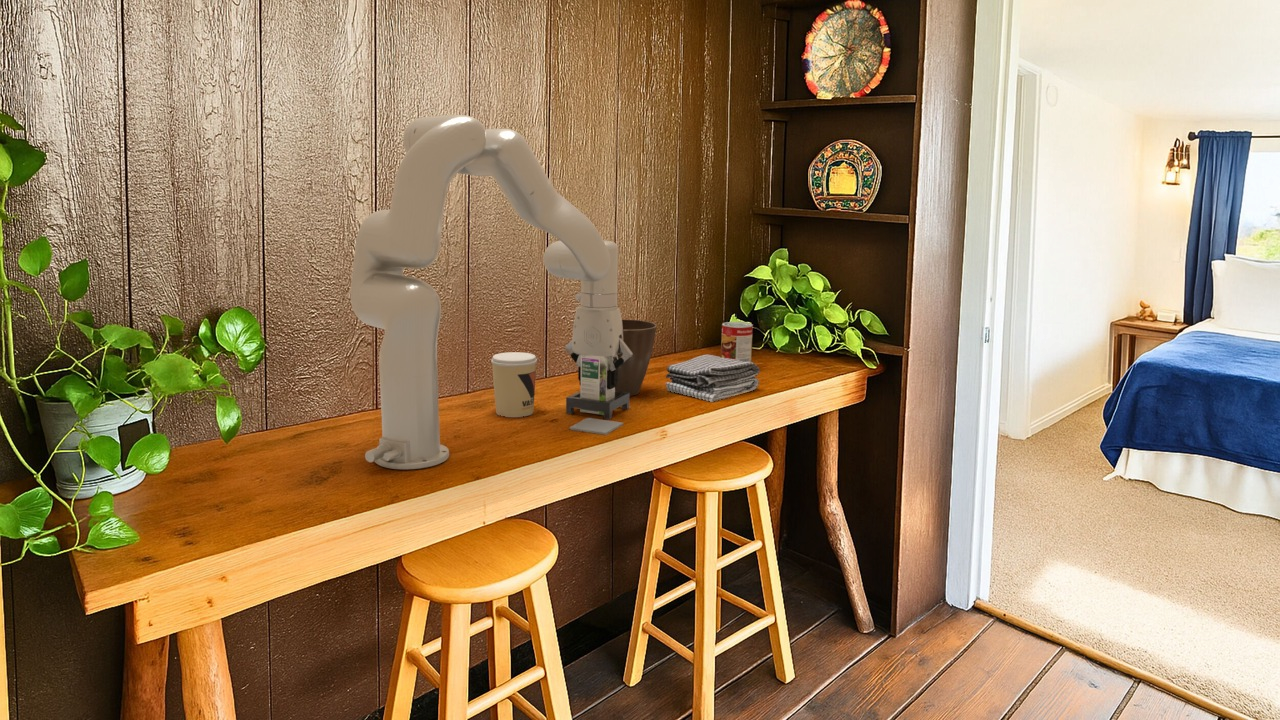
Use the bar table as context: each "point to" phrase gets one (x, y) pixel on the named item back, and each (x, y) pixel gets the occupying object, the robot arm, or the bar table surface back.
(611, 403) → the collar stand
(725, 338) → the canned food
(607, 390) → the syrup box
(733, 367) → the towel
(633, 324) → the plant pot
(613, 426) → the slate mat
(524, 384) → the coffee cup
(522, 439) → the bar table surface
